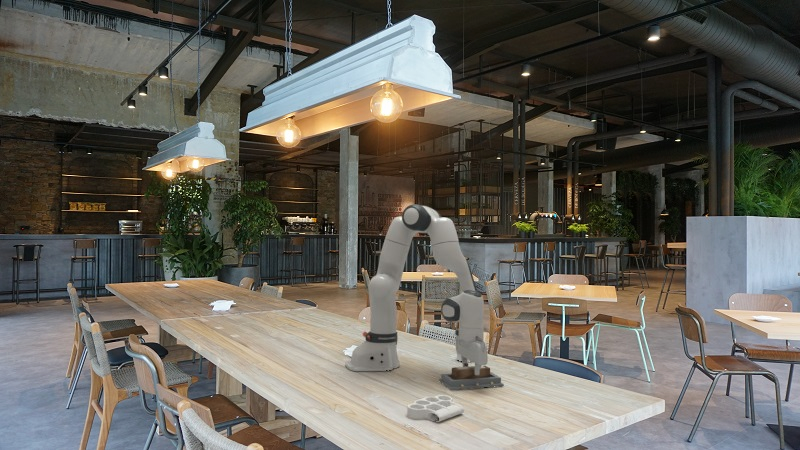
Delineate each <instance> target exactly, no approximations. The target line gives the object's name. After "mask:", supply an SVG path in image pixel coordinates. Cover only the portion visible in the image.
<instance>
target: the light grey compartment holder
mask: <svg viewBox="0 0 800 450" xmlns="http://www.w3.org/2000/svg"><path fill="white" fill-rule="evenodd" d="M463 413H465V409H464V407H463V406H462V405H461V404H459V403H457V402H454V401H453V398H452V397H451V396H450V395H445V394H438V395H435V396H434V395H433V396H424V397H423V398H421V399H419V398H418V399H415V400H414V401H413V402H412V403H409V404H407V409H406V416H407V417H408V418H409V419H413V420H429V421H431V422H433V421H436V422H435V423H441V422H442V421H445V420H448V419H450V418H453V417H455V416H458V415H461V414H463ZM438 418H439V419H438ZM436 419H437V420H436Z"/></svg>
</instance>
